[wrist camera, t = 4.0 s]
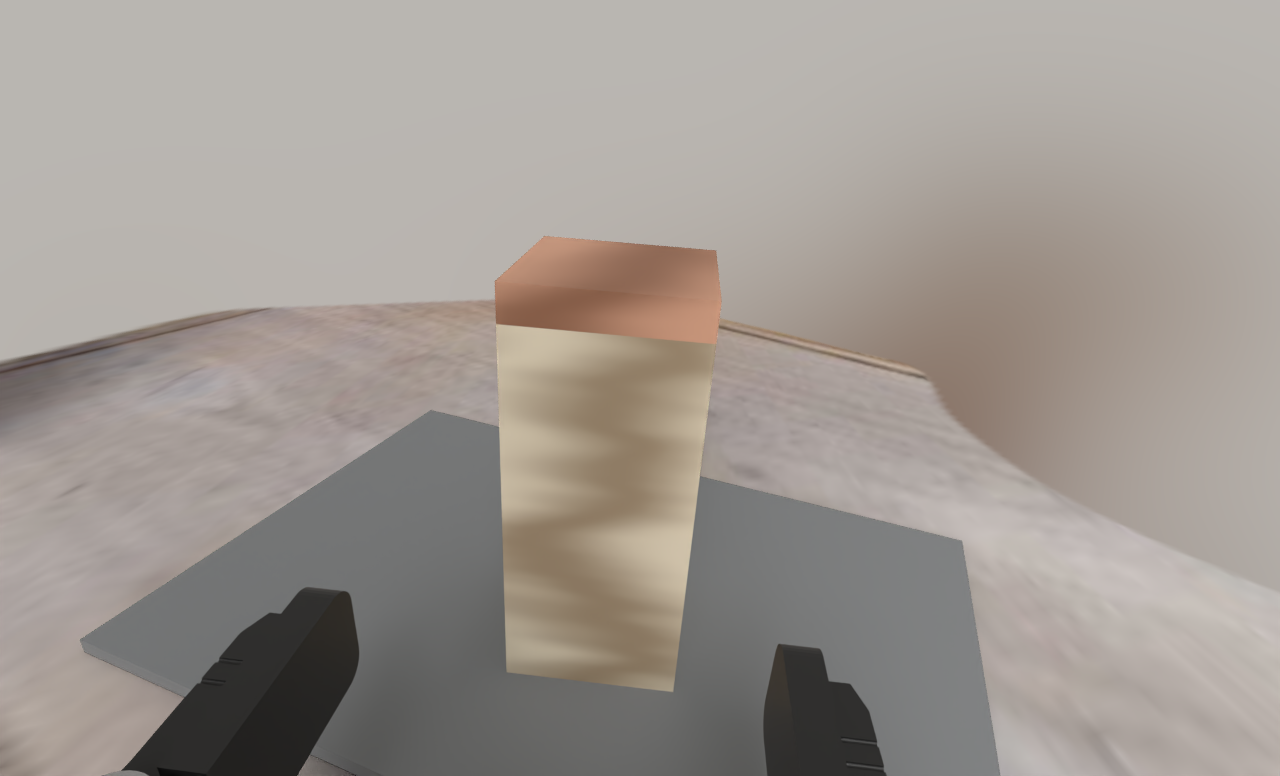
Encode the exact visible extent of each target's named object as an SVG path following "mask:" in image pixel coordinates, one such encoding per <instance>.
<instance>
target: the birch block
mask: <svg viewBox="0 0 1280 776" xmlns="http://www.w3.org/2000/svg"><path fill="white" fill-rule="evenodd" d="M495 304H496V337H497V371H498V404H499V437H500V471H501V504H502V537H503V570H504V604H505V637H506V670H507V672H508V673H517V674H525V675H534V676H542V677H550V678H559V679H567V680H576V681H584V682H593V683H601V684H610V685H618V686H627V687H635V688H643V689H652V690H660V691H669V692H673V689H674V681H675V673H676V665H677V657H678V649H679V641H680V632H681V624H682V616H683V608H684V600H685V592H686V584H687V576H688V568H689V560H690V552H691V544H692V536H693V528H694V519H695V511H696V503H697V495H698V487H699V479H700V471H701V463H702V455H703V447H704V439H705V431H706V423H707V415H708V406H709V398H710V390H711V382H712V374H713V366H714V358H715V350H716V342H717V334H718V326H719V318H720V310H721V292H720V282H719V273H718V264H717V256H716V251H715V250H703V249H691V248H679V247H668V246H655V245H644V244H631V243H620V242H608V241H597V240H584V239H573V238H561V237H549V236H544V237H543V238H542V239H541V240H540V241H539V242H537V243H536V244H535V245H534V246H533V247H532V248H531V249H530V250H529V251H528V252H526V253H525V254H524V255H523V256H522V257H521V258H520V259H519V260H518V261H517V262H515V263H514V264H513V265H512V266H511V267H510V268H509V269H508V270H507V271H506V272H504V273H503V274H502V275H501V276H500V277H499V278H498V279H497V280H496V281H495Z"/></svg>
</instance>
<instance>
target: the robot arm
mask: <svg viewBox="0 0 1280 776" xmlns="http://www.w3.org/2000/svg"><path fill="white" fill-rule="evenodd" d="M358 662H359V644H358V638H357V631H356V625H355V619H354V613H353V606H352V600H351V596H350V594H349V593H348V592H346V591H339V590H331V589H322V588H314V587H305V588H303V589H302V590H300V591H299V592H298V593H297V594H296V596H295V597H294V598H293V599H292V601H291V602H290V603H289V604H288V605H287V607H286V608H285V609H284V610H283V612H282V613H281V614H279V613H268V614H267V615H265V616H264V617H262V618H261V619H259V620H258V621H257V622H255V623H254V624H252V625H251V626H249V627H248V628H246V629H245V630H243V631H242V632H241V633H240V634H239V635H238V636H237V637H236V638H235V640H234V641H233V642H232V643H231V644H230V645H229V647H228V648H227V649H226V650H225V651H224V652H223V654H222V655H221V656H220V657H219V661H218V662H215V663H214V664H213V665H212V666H211V668H210V669H209V670H208V671H207V672H206V673H205V675H204V676H203V677H202V680H201V682H200V683H197V684H196V685H195V686H194V687H193V689H192V690H191V691H190V692H189V693H188V694H187V696H186V697H185V698H184V699H183V700H182V701H181V703H180V704H179V705H178V706H177V707H176V708H175V710H174V711H173V712H172V713H171V714H170V716H169V717H168V718H167V719H166V720H165V721H164V723H163V724H162V725H161V726H160V727H159V728H158V730H157V731H156V732H155V733H154V734H153V735H152V737H151V738H150V739H149V740H148V741H147V742H146V744H145V745H144V746H143V747H142V748H141V749H140V751H139V752H138V753H137V754H136V755H135V756H134V758H133V759H132V760H131V761H130V762H129V763H128V764H127V765H126V766H125V767H124V768H123V769H122V770H121V771H118V772H113V773H109V774H106V775H103V776H297V775H298V773H299V771H300V770H301V768H302V766H303V765H304V763H305V761H306V760H307V758H308V756H309V755H310V753H311V751H312V750H313V748H314V746H315V745H316V743H317V741H318V739H319V738H320V736H321V734H322V733H323V731H324V729H325V728H326V726H327V724H328V723H329V721H330V719H331V718H332V716H333V714H334V713H335V711H336V709H337V707H338V706H339V704H340V702H341V701H342V699H343V697H344V696H345V694H346V692H347V691H348V689H349V687H350V685H351V684H352V681H353V679H354V677H355V674H356V671H357V667H358ZM763 736H764V747H765V758H766V768H767V776H887V775H886V772H884V764H883V760H882V756H881V753H880V749H879V747H878V746H877V738H876V734H875V731H874V727H873V723H872V720H871V716H870V712H869V710H868V709H867V707H866V706H865V704H864V703H863V701H862V700H861V698H860V697H859V696H858V694H857V693H856V691H855V690H854V688H853V687H852V686H851V684H849V683H840V682H832V681H829V680H828V675H827V671H826V666H825V661H824V657H823V653H822V651H821V649H819V648H812V647H803V646H795V645H786V644H778V646H777V648H776V652H775V657H774V661H773V666H772V671H771V675H770V680H769V685H768V689H767V694H766V699H765V705H764V716H763Z"/></svg>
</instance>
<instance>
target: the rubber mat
mask: <svg viewBox="0 0 1280 776" xmlns="http://www.w3.org/2000/svg"><path fill="white" fill-rule="evenodd" d="M305 587H314V588H322V589H331V590H339V591H346V592H348V593H349V594H350V596H351V600H352V606H353V613H354V619H355V625H356V631H357V638H358V644H359V662H358V667H357V671H356V674H355V677H354V679H353V681H352V684H351V685H350V687H349V689H348V691H347V692H346V694H345V696H344V697H343V699H342V701H341V702H340V704H339V706H338V707H337V709H336V711H335V713H334V714H333V716H332V718H331V719H330V721H329V723H328V724H327V726H326V728H325V729H324V731H323V733H322V734H321V736H320V738H319V739H318V741H317V743H316V745H315V746H314V748H313V750H312V751H311V753H310V754H311V755H313V756H315V757H317V758H319V759H322V760H324V761H326V762H328V763H331V764H333V765H335V766H337V767H339V768H342V769H344V770H346V771H348V772H350V773H353V774H355V775H357V776H767V768H766V758H765V747H764V736H763V716H764V705H765V699H766V694H767V689H768V685H769V680H770V675H771V671H772V666H773V661H774V657H775V652H776V648H777V646H778V644H786V645H795V646H803V647H812V648H819V649H821V651H822V653H823V657H824V661H825V666H826V671H827V675H828V680H829V681H832V682H840V683H849V684H851V686H852V687H853V688H854V690H855V691H856V693H857V694H858V696H859V697H860V698H861V700H862V701H863V703H864V704H865V706H866V707H867V709H868V710H869V712H870V716H871V720H872V723H873V727H874V731H875V734H876V738H877V746H878V747H879V749H880V753H881V756H882V760H883V764H884V772H886V775H887V776H1000V770H999V764H998V758H997V751H996V745H995V739H994V733H993V727H992V721H991V715H990V709H989V703H988V697H987V690H986V684H985V678H984V672H983V666H982V660H981V654H980V648H979V642H978V636H977V629H976V623H975V617H974V611H973V605H972V599H971V593H970V587H969V581H968V575H967V568H966V562H965V556H964V550H963V544H962V541H960V540H956V539H952V538H948V537H944V536H940V535H936V534H932V533H928V532H924V531H920V530H916V529H912V528H907V527H903V526H899V525H895V524H891V523H887V522H883V521H879V520H875V519H871V518H867V517H863V516H859V515H855V514H851V513H847V512H842V511H838V510H834V509H830V508H826V507H822V506H818V505H814V504H810V503H806V502H802V501H798V500H794V499H790V498H786V497H782V496H778V495H773V494H769V493H765V492H761V491H757V490H753V489H749V488H745V487H741V486H737V485H733V484H729V483H725V482H721V481H717V480H713V479H708V478H704V477H700V479H699V487H698V495H697V503H696V511H695V519H694V528H693V536H692V544H691V552H690V560H689V568H688V576H687V584H686V592H685V600H684V608H683V616H682V624H681V632H680V641H679V649H678V657H677V665H676V673H675V681H674V689H673V692H669V691H660V690H652V689H643V688H635V687H627V686H618V685H610V684H601V683H593V682H584V681H576V680H567V679H559V678H550V677H542V676H534V675H525V674H517V673H508V672H507V670H506V637H505V604H504V570H503V537H502V504H501V471H500V437H499V427H497V426H493V425H489V424H485V423H481V422H477V421H473V420H469V419H465V418H461V417H457V416H453V415H449V414H445V413H440V412H436V411H432V410H430V411H429V412H427V413H426V414H424V415H423V416H421V417H420V418H418V419H417V420H415V421H414V422H412V423H411V424H409V425H408V426H406V427H404V428H403V429H401V430H400V431H398V432H397V433H395V434H394V435H392V436H391V437H389V438H388V439H386V440H385V441H383V442H382V443H380V444H378V445H377V446H375V447H374V448H372V449H371V450H369V451H368V452H366V453H365V454H363V455H362V456H360V457H359V458H357V459H356V460H354V461H352V462H351V463H349V464H348V465H346V466H345V467H343V468H342V469H340V470H339V471H337V472H336V473H334V474H333V475H331V476H330V477H328V478H326V479H325V480H323V481H322V482H320V483H319V484H317V485H316V486H314V487H313V488H311V489H310V490H308V491H307V492H305V493H304V494H302V495H300V496H299V497H297V498H296V499H294V500H293V501H291V502H290V503H288V504H287V505H285V506H284V507H282V508H281V509H279V510H278V511H276V512H274V513H273V514H271V515H270V516H268V517H267V518H265V519H264V520H262V521H261V522H259V523H258V524H256V525H255V526H253V527H252V528H250V529H248V530H247V531H245V532H244V533H242V534H241V535H239V536H238V537H236V538H235V539H233V540H232V541H230V542H229V543H227V544H226V545H224V546H222V547H221V548H219V549H218V550H216V551H215V552H213V553H212V554H210V555H209V556H207V557H206V558H204V559H203V560H201V561H199V562H198V563H196V564H195V565H193V566H192V567H190V568H189V569H187V570H186V571H184V572H183V573H181V574H180V575H178V576H177V577H175V578H173V579H172V580H170V581H169V582H167V583H166V584H164V585H163V586H161V587H160V588H158V589H157V590H155V591H154V592H152V593H151V594H149V595H147V596H146V597H144V598H143V599H141V600H140V601H138V602H137V603H135V604H134V605H132V606H131V607H129V608H128V609H126V610H125V611H123V612H121V613H120V614H118V615H117V616H115V617H114V618H112V619H111V620H109V621H108V622H106V623H105V624H103V625H102V626H100V627H99V628H97V629H95V630H94V631H92V632H91V633H89V634H88V635H86V636H85V637H83V638H82V639H80V642H81V644H82V647H83V649H84V652H86V653H88V654H90V655H92V656H94V657H97V658H99V659H101V660H103V661H106V662H108V663H110V664H112V665H114V666H117V667H119V668H121V669H123V670H125V671H128V672H130V673H132V674H134V675H136V676H139V677H141V678H143V679H145V680H147V681H150V682H152V683H154V684H156V685H158V686H161V687H163V688H165V689H167V690H169V691H172V692H174V693H176V694H178V695H181V696H183V697H186V696H187V694H188V693H189V692H190V691H191V690H192V689H193V687H194V686H195V685H196V684H197V683H200V682H201V680H202V677H203V676H204V675H205V673H206V672H207V671H208V670H209V669H210V668H211V666H212V665H213V664H214V663H215V662H218V661H219V657H220V656H221V655H222V654H223V652H224V651H225V650H226V649H227V648H228V647H229V645H230V644H231V643H232V642H233V641H234V640H235V638H236V637H237V636H238V635H239V634H240V633H241V632H242V631H243V630H245V629H246V628H248V627H249V626H251V625H252V624H254V623H255V622H257V621H258V620H259V619H261V618H262V617H264V616H265V615H267V614H268V613H279V614H281V613H282V612H283V610H284V609H285V608H286V607H287V605H288V604H289V603H290V602H291V601H292V599H293V598H294V597H295V596H296V594H297V593H298V592H299V591H300V590H302V589H303V588H305Z"/></svg>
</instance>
